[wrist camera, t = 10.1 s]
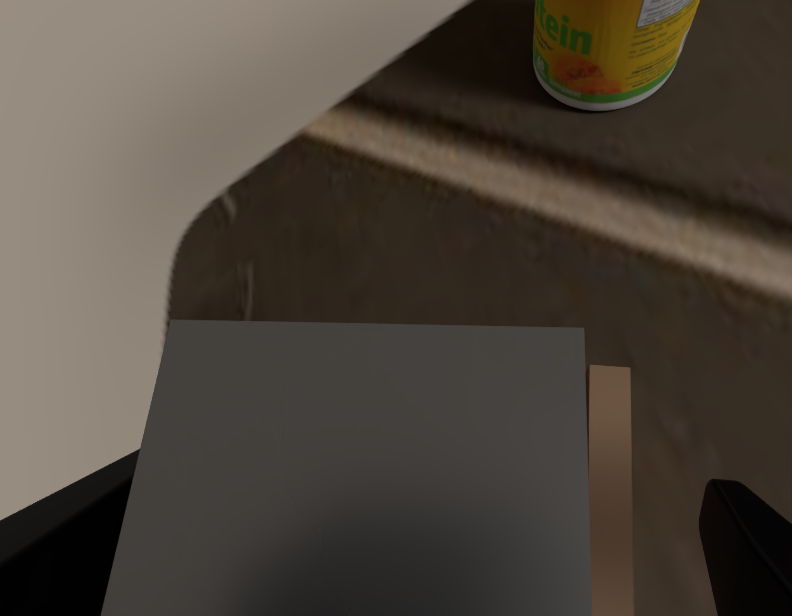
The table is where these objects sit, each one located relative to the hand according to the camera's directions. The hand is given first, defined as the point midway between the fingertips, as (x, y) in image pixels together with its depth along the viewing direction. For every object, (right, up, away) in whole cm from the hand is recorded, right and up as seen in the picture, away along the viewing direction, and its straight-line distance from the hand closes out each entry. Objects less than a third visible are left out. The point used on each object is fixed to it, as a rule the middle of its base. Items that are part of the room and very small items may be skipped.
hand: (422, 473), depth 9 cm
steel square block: (+2, -4, +7) cm, 8 cm away
